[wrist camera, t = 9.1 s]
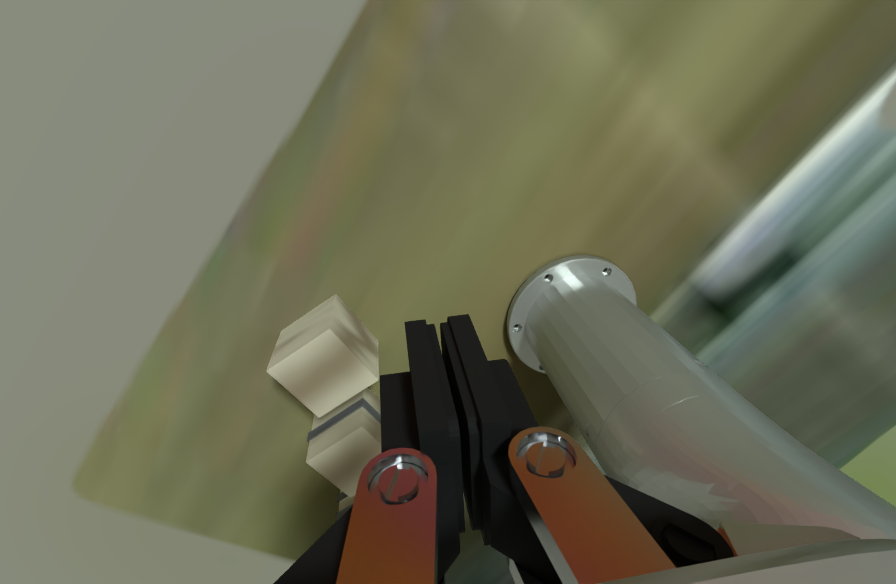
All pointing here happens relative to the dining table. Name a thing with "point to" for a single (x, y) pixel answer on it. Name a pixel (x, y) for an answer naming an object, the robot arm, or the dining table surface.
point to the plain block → (325, 357)
